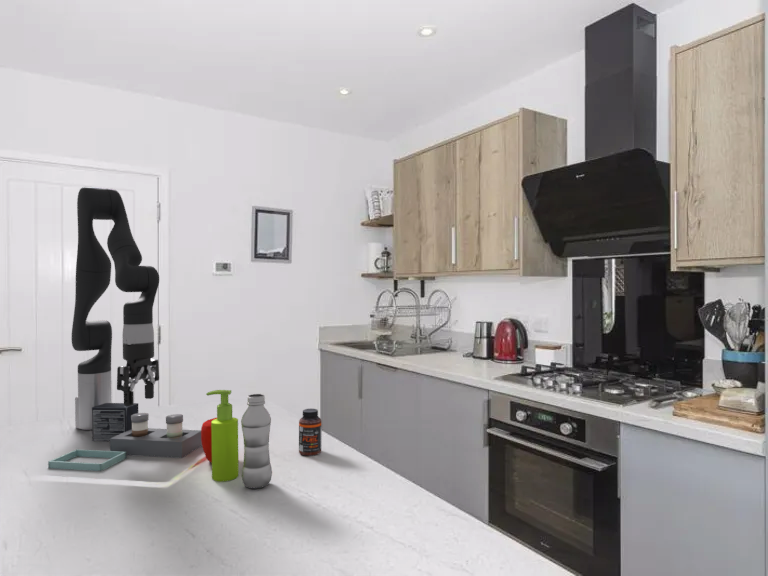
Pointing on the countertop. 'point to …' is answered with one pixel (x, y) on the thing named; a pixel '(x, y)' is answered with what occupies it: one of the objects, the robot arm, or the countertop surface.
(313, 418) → the supplement bottle
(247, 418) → the plastic bottle
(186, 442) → the block
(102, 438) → the small box
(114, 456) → the tray
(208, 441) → the apple
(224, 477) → the soap dispenser
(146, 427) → the fuse
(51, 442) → the countertop surface
